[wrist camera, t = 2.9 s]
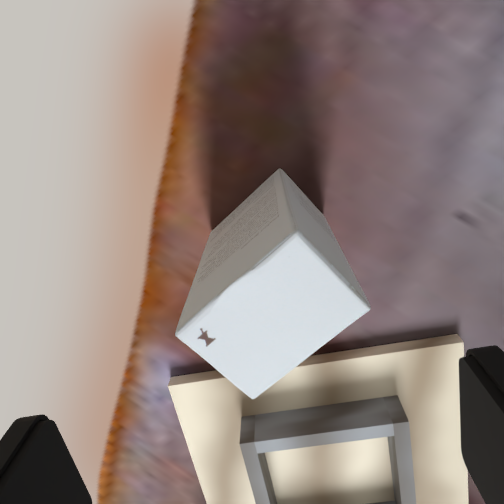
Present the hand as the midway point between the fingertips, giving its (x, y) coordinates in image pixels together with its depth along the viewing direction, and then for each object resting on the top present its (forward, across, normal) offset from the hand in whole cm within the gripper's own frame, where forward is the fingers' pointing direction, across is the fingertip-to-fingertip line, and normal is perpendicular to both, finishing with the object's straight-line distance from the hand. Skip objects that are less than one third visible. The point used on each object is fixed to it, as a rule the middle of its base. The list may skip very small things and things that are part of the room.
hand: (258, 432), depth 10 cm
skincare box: (+18, 0, +1) cm, 18 cm away
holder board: (+17, -1, +20) cm, 26 cm away
